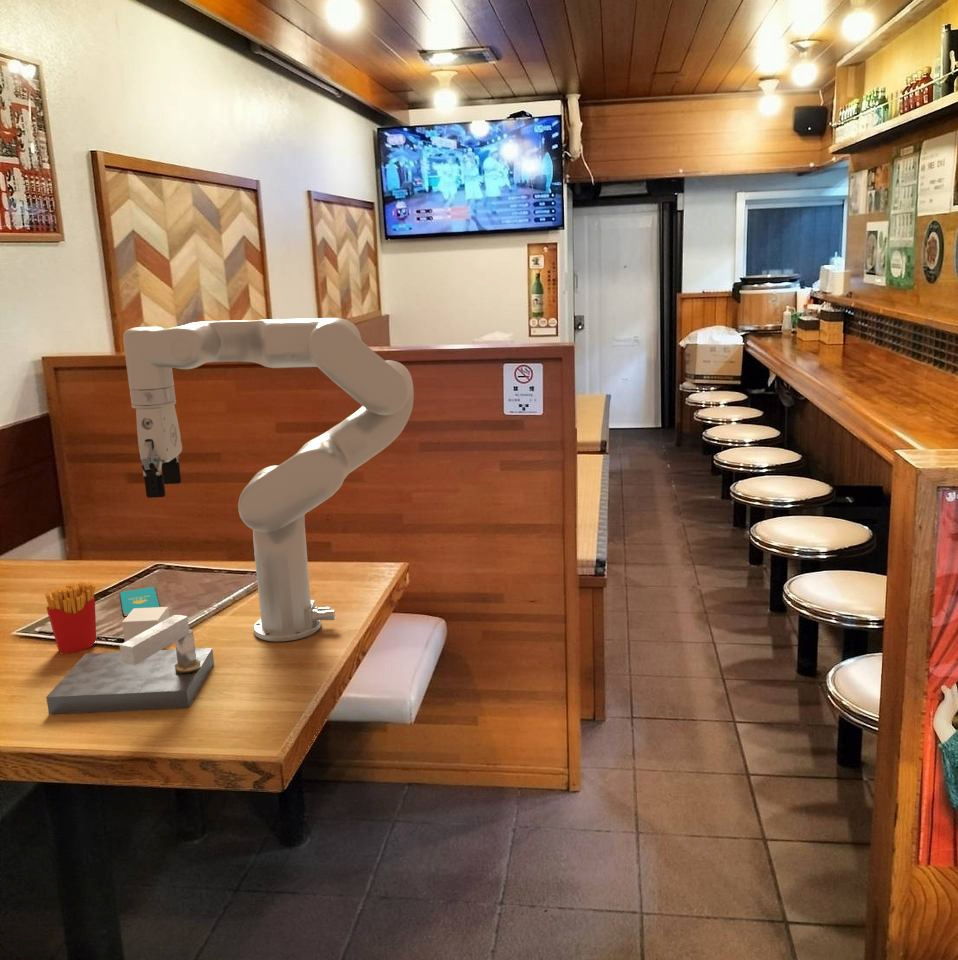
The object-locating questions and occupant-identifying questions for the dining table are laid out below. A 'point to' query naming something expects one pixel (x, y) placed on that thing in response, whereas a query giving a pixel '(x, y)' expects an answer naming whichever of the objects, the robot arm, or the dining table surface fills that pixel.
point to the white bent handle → (163, 644)
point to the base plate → (128, 683)
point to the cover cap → (143, 620)
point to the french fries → (73, 616)
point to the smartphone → (138, 599)
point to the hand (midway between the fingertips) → (164, 490)
